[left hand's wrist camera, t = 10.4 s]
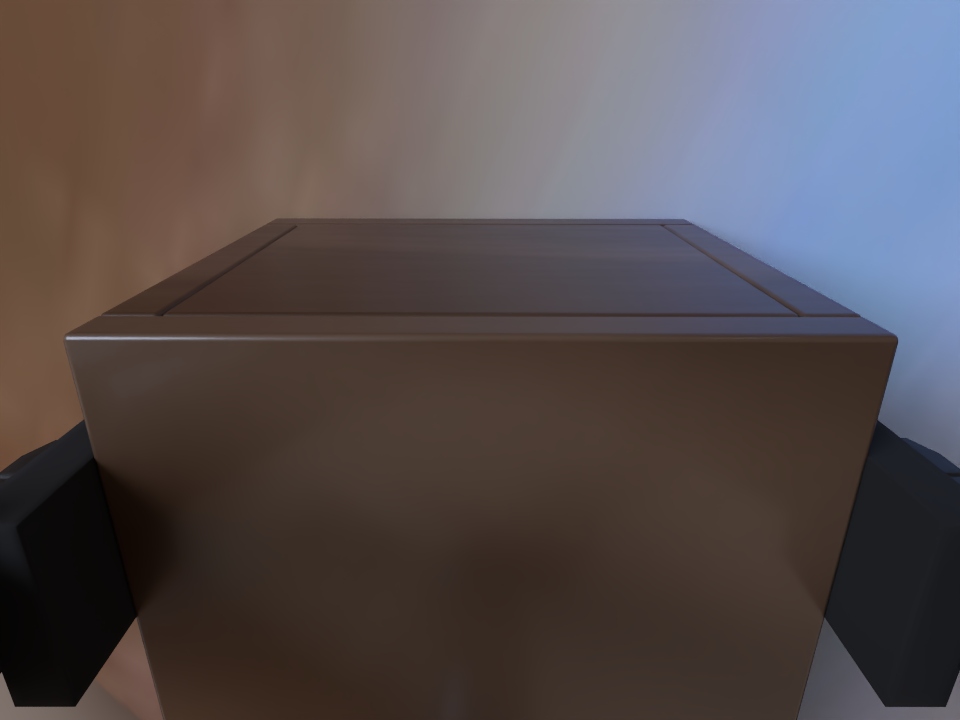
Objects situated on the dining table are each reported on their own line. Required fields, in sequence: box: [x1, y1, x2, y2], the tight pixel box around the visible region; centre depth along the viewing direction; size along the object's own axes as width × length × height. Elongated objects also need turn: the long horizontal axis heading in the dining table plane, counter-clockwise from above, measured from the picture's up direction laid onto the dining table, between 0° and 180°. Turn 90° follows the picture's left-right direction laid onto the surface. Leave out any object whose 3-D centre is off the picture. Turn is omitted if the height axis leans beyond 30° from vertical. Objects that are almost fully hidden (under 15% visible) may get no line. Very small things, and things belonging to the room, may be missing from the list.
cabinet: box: [64, 219, 898, 720], centre depth 15 cm, size 20×10×8 cm, turn 0°
